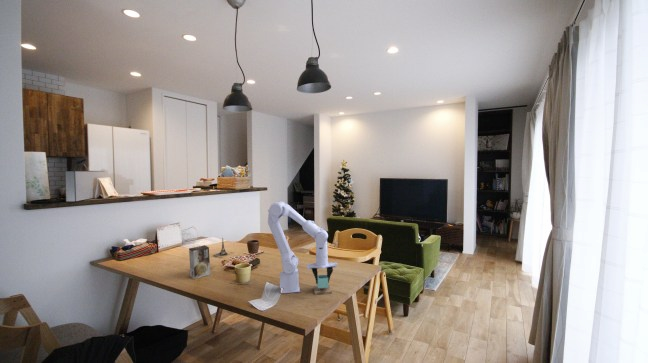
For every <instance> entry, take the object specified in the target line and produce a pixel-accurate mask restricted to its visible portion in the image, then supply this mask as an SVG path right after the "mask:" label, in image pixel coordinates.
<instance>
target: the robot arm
mask: <svg viewBox="0 0 648 363" xmlns="http://www.w3.org/2000/svg"><path fill="white" fill-rule="evenodd" d="M282 217H289V218H291V219H292V220H293V221H295V222H296V223H298V224H299V225H301V226H302V227H301V228H302V230H303V231H304V232H305V233H307V234H308V235H309V236H310V237H312V238H313V239H314V241H315V263H309V264H306V269H307V271H310V270H311V272H312V273H313V276H314V278H315V284H316V285H317V284H318V278H317V275H319V272H318V269H326V275H327V277H328V284H330V283H329V282H330V278H331V276H332V273H333V271H334V268H335V269H337V268H338V263H337V262H329V261H328V260H329V257H328V254H329V253H328V238H329V234H328V232H327V231H326V230H325V229H323V228H322V227H320V226H318V225H317V224H315V221H314V220H309V219H308V220H306V219H305V218H304V217H303V216H302V215H301V214H299V212H298V211H296V210H295V209H294V208H293V207H292V206H291V205H289V204H288V203H286V202H285V200H279V201H277V202H274V203H272V204H271V205H270V207H269V209H268V216H267V224H268V227H269V229H270V232H271V234H272V236H273V238H274V241H275V244H276V246H277V248H278V251H279V253H280V256H281V258H280V260H281V263H282V264H281V265H282V271H281V272H279V287H280V288H283V291H282V293H281V294H290V293H300V292H301V289H300V281H299V279H300V278H299V269H298V266H299V265H300V260H299V258H298V257H297V256H296V254H295V253H294V252H293V251H292V249H291V247H290V245H289V242H288V240H287V237H286V236H285V233H284V230H283V228H282V225H281V223H280V221H281V218H282ZM280 288H279V289H280Z"/></svg>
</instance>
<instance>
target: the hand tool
mask: <svg viewBox="0 0 648 363" xmlns="http://www.w3.org/2000/svg"><path fill="white" fill-rule="evenodd" d="M247 263H249V264H252V265H254V266H256V265H260V263H261V259H260V258H258V257H256V258H255V257H254V258H253V259H252V260H250V261H248V262H247Z"/></svg>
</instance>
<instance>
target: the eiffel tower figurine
mask: <svg viewBox="0 0 648 363" xmlns="http://www.w3.org/2000/svg"><path fill="white" fill-rule="evenodd" d="M221 239H222V240H221V241H222V244H221V250H220V251H219V252H218V253H216V254H213V255H212V257H213V258H218V259H221V257H224V256H228V253H227V251H226V249H225V245H224V237H222V238H221Z"/></svg>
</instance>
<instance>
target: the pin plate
mask: <svg viewBox="0 0 648 363" xmlns="http://www.w3.org/2000/svg"><path fill="white" fill-rule="evenodd" d="M313 291H314V294H315V296H317V295H328V294H329V295H331V294H332V293H333V290H332V289H331V285H330V284H328V288H318V286H317V285H313Z"/></svg>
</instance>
